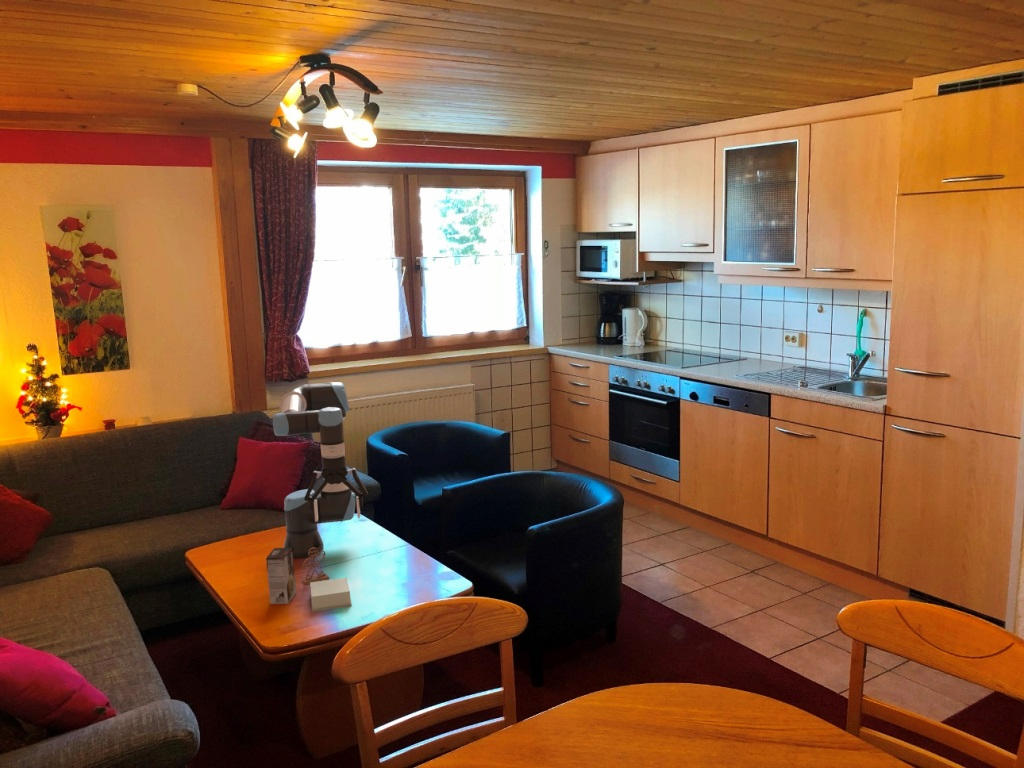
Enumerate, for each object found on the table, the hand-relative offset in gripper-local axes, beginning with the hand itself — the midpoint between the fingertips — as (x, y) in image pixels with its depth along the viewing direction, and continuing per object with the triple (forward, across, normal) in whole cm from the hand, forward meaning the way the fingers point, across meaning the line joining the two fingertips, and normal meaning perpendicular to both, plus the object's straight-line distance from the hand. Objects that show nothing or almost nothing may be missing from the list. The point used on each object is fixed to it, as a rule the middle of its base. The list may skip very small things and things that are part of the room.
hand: (337, 518), depth 268 cm
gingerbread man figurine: (+27, -11, +16) cm, 33 cm away
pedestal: (+27, -4, -3) cm, 27 cm away
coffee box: (+27, -20, +3) cm, 34 cm away
